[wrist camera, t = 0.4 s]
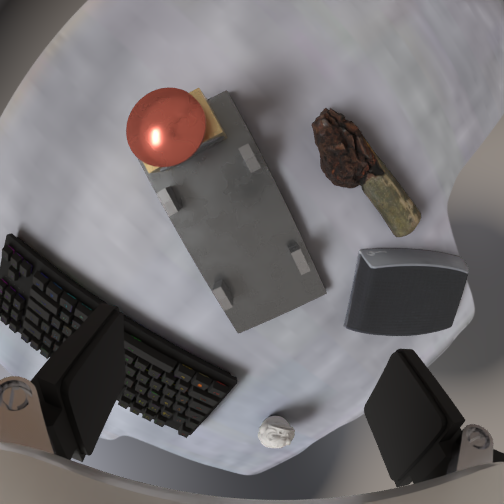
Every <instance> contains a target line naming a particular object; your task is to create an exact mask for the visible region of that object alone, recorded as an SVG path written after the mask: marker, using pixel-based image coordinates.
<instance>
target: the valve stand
mask: <svg viewBox="0 0 504 504" xmlns="http://www.w3.org/2000/svg"><path fill="white" fill-rule="evenodd" d="M126 134H127V140H128V144H129V146H130V148H131V150H132V152H133V153H134V154H135V156H136V157H137V158H138V160H139V162H140V164H141V166H142V168H143V169H144V171H145V173H146V175H147V177H148V179H149V181H150V183H151V185H152V187H153V188H154V190H155V192H156V194H157V196H158V198H159V200H160V202H161V203H162V205H163V207H164V209H165V211H166V213H167V214H168V216H169V218H170V220H171V222H172V223H173V225H174V227H175V229H176V231H177V232H178V234H179V236H180V238H181V239H182V241H183V243H184V245H185V246H186V248H187V250H188V252H189V253H190V255H191V257H192V258H193V260H194V262H195V264H196V265H197V267H198V269H199V270H200V272H201V274H202V276H203V277H204V279H205V281H206V282H207V284H208V286H209V287H210V289H211V291H212V292H213V294H214V295H215V297H216V299H217V300H218V302H219V304H220V305H221V307H222V309H223V310H224V312H225V313H226V315H227V317H228V318H229V320H230V321H231V323H232V325H233V326H234V328H235V329H236V331H237V332H238V333H241V332H243V331H245V330H248V329H250V328H252V327H255V326H257V325H259V324H262V323H264V322H266V321H269V320H271V319H273V318H275V317H277V316H280V315H282V314H284V313H286V312H289V311H291V310H293V309H295V308H297V307H299V306H301V305H304V304H306V303H308V302H310V301H312V300H314V299H316V298H318V297H320V296H323V295H325V294H327V293H326V290H325V288H324V286H323V283H322V281H321V279H320V277H319V274H318V272H317V270H316V268H315V265H314V263H313V261H312V259H311V257H310V254H309V252H308V250H307V248H306V246H305V243H304V241H303V239H302V237H301V235H300V233H299V230H298V228H297V226H296V224H295V222H294V220H293V218H292V216H291V214H290V211H289V209H288V207H287V205H286V203H285V201H284V199H283V197H282V195H281V193H280V191H279V189H278V187H277V185H276V183H275V181H274V179H273V177H272V175H271V173H270V171H269V169H268V167H267V165H266V163H265V161H264V159H263V157H262V155H261V153H260V151H259V149H258V147H257V145H256V143H255V142H254V140H253V138H252V136H251V134H250V132H249V130H248V128H247V126H246V124H245V123H244V121H243V119H242V117H241V115H240V113H239V111H238V110H237V108H236V106H235V104H234V102H233V100H232V99H231V97H230V95H229V93H228V91H227V90H226V91H224V92H222V93H220V94H218V95H216V96H214V97H212V98H210V99H208V100H207V99H206V97H205V96H204V95H203V93H202V92H201V90H200V89H199V88H197V89H195V90H194V91H192V92H190V93H188V92H186V91H184V90H181V89H177V88H161V89H158V90H155V91H152V92H150V93H148V94H147V95H145V96H144V97H143V98H142V99H140V100H139V101H138V103H137V104H136V105H135V106H134V108H133V109H132V111H131V113H130V115H129V118H128V122H127V128H126Z"/></svg>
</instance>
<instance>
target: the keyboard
mask: <svg viewBox="0 0 504 504" xmlns="http://www.w3.org/2000/svg"><path fill="white" fill-rule="evenodd" d="M101 303H105V302H104V301H102V300H101V299H99V298H98V297H96V296H95V295H93V294H92V293H90V292H89V291H87V290H86V289H85V288H83V287H82V286H80V285H79V284H77V283H76V282H75V281H73V280H72V279H71V278H69V277H68V276H66V275H65V274H64V273H62V272H61V271H60V270H58V269H57V268H56V267H54V266H53V265H52V264H51V263H49V262H48V261H47V260H45V259H44V258H43V257H42V256H40V255H39V254H38V253H37V252H35V251H34V250H33V249H32V248H30V247H29V246H28V245H27V244H26V243H24V242H23V241H22V240H21V239H20V238H18V237H15V236H14V235H13V234H8V235H7V236H6V241H5V245H4V248H3V249H2V260H1V265H0V317H1V321H2V322H3V323H4V324H5V325H8V324H10V325H9V328H10V329H11V330H12V331H13V332H14V333H16V332H19V333H20V334H22V335H21V339H23V340H24V341H25V342H26V343H29V342H31V344H30V346H31V347H33V348H34V349H35V350H36V351H37V350H39V349H40V350H41V352H40V354H41V355H43V356H44V357H45V358H47V359H48V358H49V357H51V356H52V355H53V354H54V352H55V351H56V350H57V349H58V348H59V347H60V346H61V344H62V343H63V342H64V341H65V340H66V339H67V338H68V337H69V336H70V335H72V334H73V333H74V332H75V331H76V330H77V329H78V328H79V327H80V326H81V324H82V323H83V322H84V321H85V320H86V319H87V318H88V317H89V316H90V314H91V313H92V312H93V311H94V310H95V309H96V308H97V307H98V306H99V305H100V304H101ZM105 304H107V303H105ZM123 315H124V314H123ZM124 351H125V370H126V378H125V382H124V385H123V387H122V389H121V391H120V393H119V395H118V397H117V399H116V400H118V401H119V403H118V405H120V406H122V407H123V408H125V409H127V407H128V406H129V407H130V411H131V412H133V413H135V414H137V415H139V413H142V414H143V416H142V418H145V419H147V420H149V421H150V422H151V420H152V419H154V423H155V424H157V425H159V426H161V427H163V426H164V424H165V425H167V426H169V427H171V428H174V429H176V430H178V434H179V435H182V436H184V437H186V438H187V437H188V435H191V434H192V433H193V432H194V431H195V430H196V429H197V427H198V426H199V425H200V424H201V423H202V422H203V421H204V420H205V419H206V418H207V417H208V415H209V414H210V413H211V412H212V411H213V410H214V409H215V408H216V407H217V405H218V404H219V403H220V402H221V401H222V400H223V399H224V398H225V396H226V395H227V394H228V393H229V392H230V391H231V389H232V388H233V387H234V386H235V385H236V384H237V378H236V377H234V376H232V375H231V374H230V373H229V372H227V371H224V370H222V369H220V368H218V367H216V366H214V365H212V364H210V363H208V362H206V361H204V360H202V359H201V358H199V357H197V356H195V355H193V354H191V353H189V352H187V351H185V350H183V349H182V348H180V347H178V346H176V345H174V344H173V343H171V342H169V341H167V340H165V339H164V338H162V337H160V336H158V335H157V334H155V333H153V332H152V331H150V330H148V329H146V328H145V327H143V326H141V325H140V324H138V323H137V322H135V321H133V320H132V319H130V318H128V317H127V316H125V315H124Z"/></svg>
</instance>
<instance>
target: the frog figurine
mask: <svg viewBox="0 0 504 504" xmlns="http://www.w3.org/2000/svg"><path fill="white" fill-rule="evenodd" d="M294 432H295V430H294V429H293V427H290V424H289V423H288V422H287V421H286V420H285V419H284V418H282V417H280V416H270V417H268V418H266V419H265V420H264V421H263V422H262V424H261V426H260V427H259V432H258V438H259V440H260V441H261V443H262V444H263V445H264V446H266V447H269V448H282V447H284V446H286V445H290V443H291V441H292V439H293V438H294V435H295V433H294Z"/></svg>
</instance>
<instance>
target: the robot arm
mask: <svg viewBox="0 0 504 504" xmlns="http://www.w3.org/2000/svg"><path fill="white" fill-rule="evenodd" d="M125 378H126V370H125V351H124V315H123V313H122V312H119V308H118V307H116V306H112V305H108V304H105V303H101V304H100V305H99V306H98V307H97V308H96V309H95V310H94V311H93V312H92V313H91V314H90V316H89V317H88V318H87V319H86V320H85V321H84V322H83V323H82V324H81V326H80V327H79V328H78V329H77V330H76V331H75V332H74V333H73V334H72V335H70V336H69V337H68V338H67V339H66V340H65V341H64V342H63V343H62V344H61V346H60V347H59V348H58V349H57V350H56V351H55V352H54V354H53V355H52V356H51V357H50V358H49V360H48V361H47V362H46V363H45V364H44V366H43V367H42V368H41V369H40V370H39V372H38V373H37V374H36V375H35V376H34V378H33V379H32V380H31V381H29V380H27V379H25V378H22V377H19V376H10V377H6V378H3V379H1V380H0V504H504V453H501V452H499V451H497V450H494V449H493V439H492V437H491V435H490V433H489V432H488V431H487V430H486V429H484V428H483V427H481V426H479V425H475V424H470V425H467V426H466V427H465V428H464V429H463V430H461V429H460V427H461V425H462V424H463V423H464V422H465V419H464V417H463V416H462V415H461V413H460V412H459V410H458V409H457V407H456V406H455V405H454V403H453V402H452V401H451V399H450V398H449V396H448V395H447V394H446V392H445V391H444V390H443V388H442V387H441V386H440V384H439V383H438V381H437V380H436V379H435V377H434V376H433V375H432V373H431V372H430V371H429V369H428V368H427V367H426V366H425V364H424V363H423V362H422V360H421V359H420V358H419V357H418V355H417V354H416V353H415V351H414V350H412V349H398V350H397V351H396V352H395V353H393V354H392V355H391V357H390V359H389V361H388V363H387V365H386V367H385V369H384V371H383V373H382V375H381V377H380V379H379V381H378V383H377V385H376V386H375V388H374V390H373V392H372V394H371V396H370V397H369V399H368V401H367V403H366V404H365V407H364V413H365V416H366V418H367V421H368V423H369V426H370V428H371V430H372V432H373V435H374V438H375V440H376V442H377V445H378V447H379V450H380V453H381V455H382V458H383V460H384V463H385V465H386V468H387V470H388V473H389V475H390V478H391V479H392V480H394V482H395V484H396V487H399V488H394V489H390V490H384V491H379V492H373V493H367V494H361V495H353V496H345V497H336V498H325V499H309V500H253V499H238V498H226V497H217V496H209V495H202V494H195V493H188V492H183V491H178V490H172V489H168V488H163V487H158V486H154V485H149V484H146V483H142V482H138V481H133V480H130V479H126V478H123V477H119V476H116V475H113V474H109V473H106V472H103V471H100V470H97V469H94V468H92V467H89V466H86V465H83V464H79V463H77V462H74V461H71V458H74V459H76V460H79V461H81V462H83V460H84V458H85V455H91V454H92V452H93V450H94V448H95V445H96V443H97V441H98V438H99V436H100V434H101V432H102V430H103V427H104V425H105V423H106V421H107V419H108V416H109V414H110V412H111V410H112V408H113V406H114V404H115V402H116V399H117V397H118V395H119V393H120V391H121V389H122V387H123V385H124V382H125ZM412 481H413V483H414V484H412V485H408V484H410V483H411V482H412ZM405 485H408V486H405ZM400 486H403V487H400Z"/></svg>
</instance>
